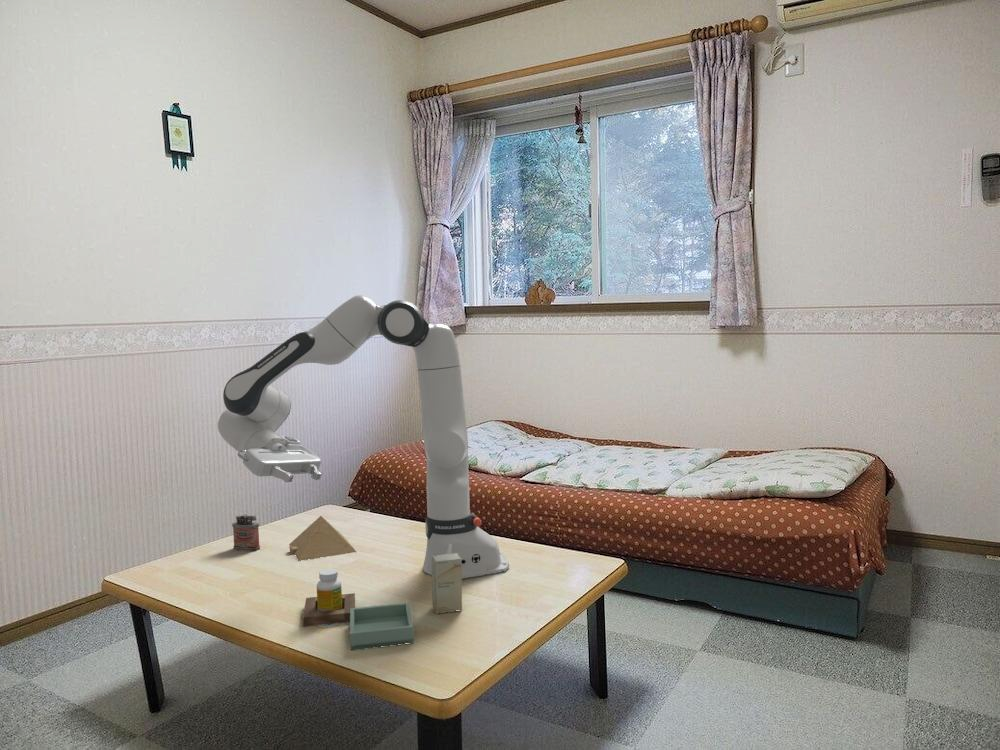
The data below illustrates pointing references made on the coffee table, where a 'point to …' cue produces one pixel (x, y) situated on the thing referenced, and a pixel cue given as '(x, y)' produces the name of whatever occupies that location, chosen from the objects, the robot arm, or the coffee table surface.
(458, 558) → the skincare box
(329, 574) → the supplement bottle
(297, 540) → the model pyramid
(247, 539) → the lighter
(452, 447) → the robot arm
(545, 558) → the coffee table surface
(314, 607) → the socket block
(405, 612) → the tray
